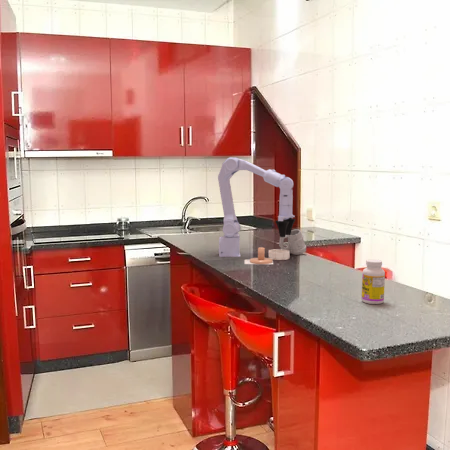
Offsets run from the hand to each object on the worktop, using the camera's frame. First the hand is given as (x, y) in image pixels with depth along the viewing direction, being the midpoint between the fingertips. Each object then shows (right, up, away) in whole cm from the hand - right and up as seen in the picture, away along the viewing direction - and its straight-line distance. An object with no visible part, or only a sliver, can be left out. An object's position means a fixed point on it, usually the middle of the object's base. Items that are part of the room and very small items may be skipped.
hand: (285, 236), depth 243 cm
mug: (+6, -8, +11) cm, 15 cm away
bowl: (-3, -10, 0) cm, 10 cm away
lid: (-11, -11, -10) cm, 18 cm away
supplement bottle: (+19, -19, -73) cm, 78 cm away
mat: (-12, -11, -10) cm, 19 cm away
